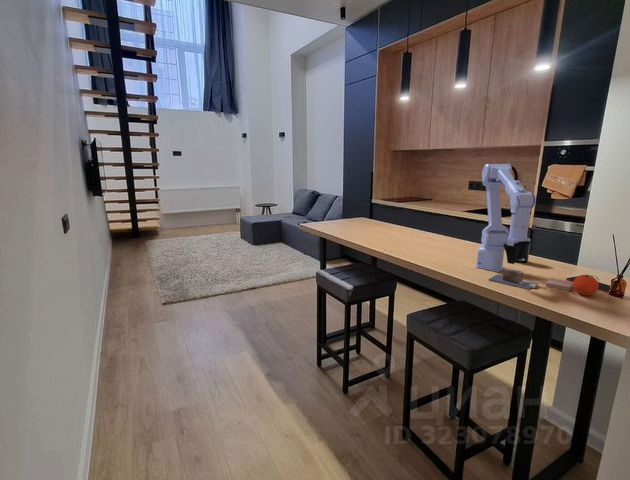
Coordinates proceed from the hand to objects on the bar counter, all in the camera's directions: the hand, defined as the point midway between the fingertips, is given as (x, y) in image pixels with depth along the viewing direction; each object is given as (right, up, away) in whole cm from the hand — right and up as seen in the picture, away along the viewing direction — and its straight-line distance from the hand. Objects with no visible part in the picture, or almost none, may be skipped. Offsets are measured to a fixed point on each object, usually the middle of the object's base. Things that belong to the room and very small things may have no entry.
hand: (514, 261), depth 131 cm
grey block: (+2, -8, 0) cm, 8 cm away
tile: (+12, -8, -1) cm, 14 cm away
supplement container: (+19, -2, +29) cm, 34 cm away
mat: (0, -8, +2) cm, 8 cm away
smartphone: (+28, -9, -1) cm, 29 cm away
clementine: (+18, -11, -11) cm, 24 cm away
